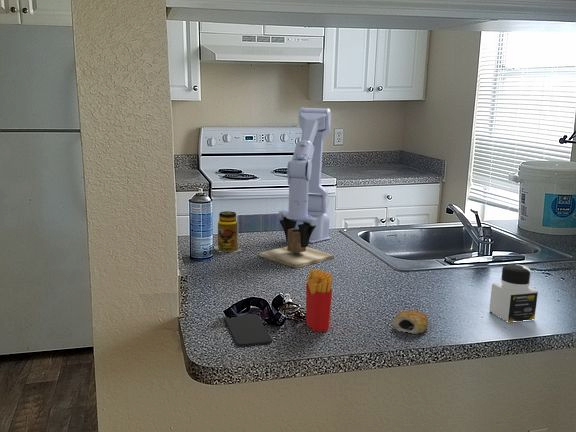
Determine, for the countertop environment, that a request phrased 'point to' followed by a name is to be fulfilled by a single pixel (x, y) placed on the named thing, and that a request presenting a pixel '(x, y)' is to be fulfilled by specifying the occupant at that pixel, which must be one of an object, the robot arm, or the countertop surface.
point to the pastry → (411, 322)
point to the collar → (294, 241)
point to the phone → (248, 330)
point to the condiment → (227, 232)
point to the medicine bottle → (514, 294)
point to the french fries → (318, 300)
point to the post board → (296, 256)
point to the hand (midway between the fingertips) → (296, 244)
